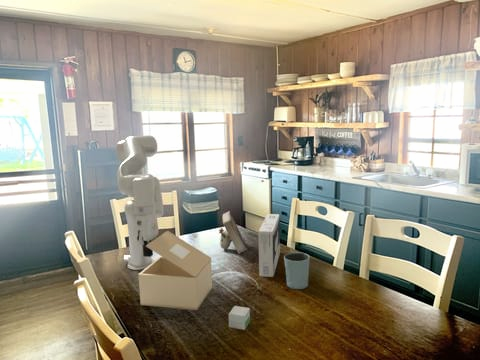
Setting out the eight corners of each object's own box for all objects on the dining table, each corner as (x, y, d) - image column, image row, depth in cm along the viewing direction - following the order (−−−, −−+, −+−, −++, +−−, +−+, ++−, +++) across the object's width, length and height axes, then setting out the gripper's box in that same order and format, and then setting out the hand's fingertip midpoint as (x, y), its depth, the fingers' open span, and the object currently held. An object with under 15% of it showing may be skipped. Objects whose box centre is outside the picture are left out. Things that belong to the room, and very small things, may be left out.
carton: (140, 305, 136) (138, 274, 134) (161, 284, 153) (160, 256, 151) (197, 310, 131) (195, 278, 129) (212, 288, 148) (211, 259, 146)
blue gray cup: (314, 283, 149) (314, 255, 147) (300, 292, 142) (300, 263, 140) (293, 277, 156) (293, 250, 154) (279, 285, 149) (278, 257, 147)
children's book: (225, 250, 203) (208, 219, 200) (245, 240, 203) (229, 209, 200) (227, 263, 183) (209, 228, 180) (249, 251, 184) (231, 217, 181)
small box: (244, 330, 117) (244, 316, 117) (228, 327, 119) (227, 313, 119) (250, 321, 123) (250, 307, 122) (234, 318, 125) (234, 305, 124)
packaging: (273, 277, 157) (272, 231, 154) (259, 276, 158) (258, 231, 155) (280, 252, 186) (279, 214, 183) (268, 252, 188) (267, 213, 185)
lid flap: (145, 246, 131) (146, 244, 131) (167, 231, 149) (167, 230, 148) (195, 277, 129) (196, 276, 129) (211, 259, 146) (211, 257, 146)
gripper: (144, 214, 131) (147, 263, 134) (162, 205, 146) (165, 250, 148) (125, 214, 133) (129, 262, 136) (145, 205, 147) (148, 249, 150)
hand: (148, 255), depth 142 cm, fingers closed
